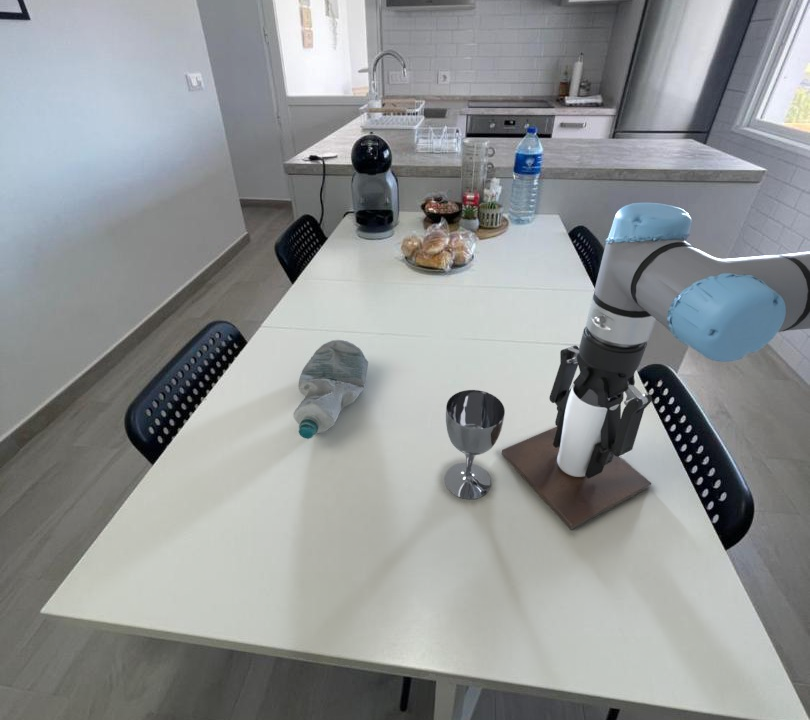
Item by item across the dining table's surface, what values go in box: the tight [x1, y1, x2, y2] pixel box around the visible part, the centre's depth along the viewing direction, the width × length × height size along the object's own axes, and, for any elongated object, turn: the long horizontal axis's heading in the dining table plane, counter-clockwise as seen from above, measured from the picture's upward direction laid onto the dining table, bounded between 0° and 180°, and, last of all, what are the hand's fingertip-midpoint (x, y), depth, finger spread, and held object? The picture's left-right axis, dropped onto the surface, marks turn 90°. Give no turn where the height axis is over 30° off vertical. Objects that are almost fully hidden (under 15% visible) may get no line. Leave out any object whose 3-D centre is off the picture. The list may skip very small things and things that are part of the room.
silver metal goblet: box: [444, 389, 506, 500], centre depth 65 cm, size 8×8×15 cm
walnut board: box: [501, 426, 652, 531], centre depth 71 cm, size 16×16×1 cm
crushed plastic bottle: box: [292, 339, 369, 439], centre depth 83 cm, size 13×7×25 cm
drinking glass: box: [557, 383, 619, 477], centre depth 66 cm, size 7×7×15 cm
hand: (576, 457), depth 70 cm, fingers closed on drinking glass, 6 cm apart
